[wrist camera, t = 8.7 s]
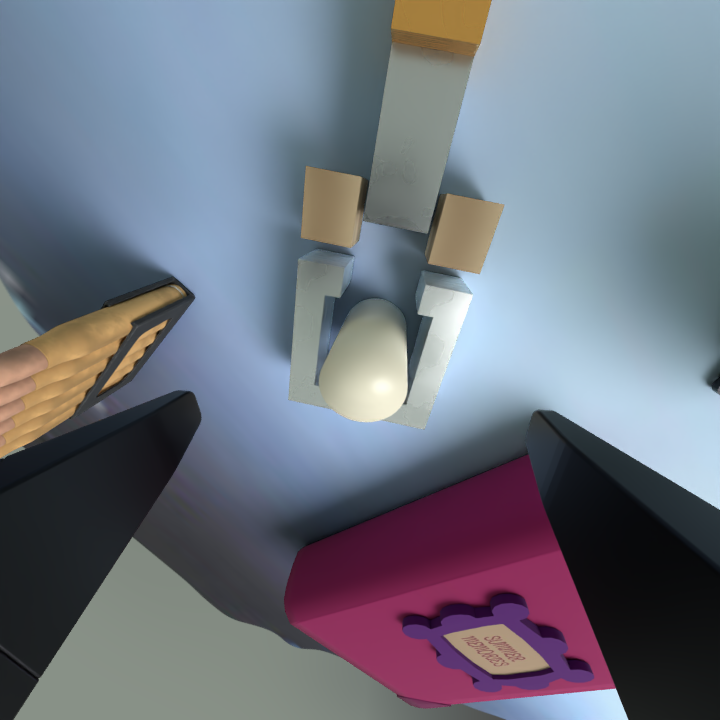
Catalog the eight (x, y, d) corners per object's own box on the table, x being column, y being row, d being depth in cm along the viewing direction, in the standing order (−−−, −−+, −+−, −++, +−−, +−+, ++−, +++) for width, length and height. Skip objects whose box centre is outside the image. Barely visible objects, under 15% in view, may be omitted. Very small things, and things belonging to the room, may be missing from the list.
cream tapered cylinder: (398, 361, 21) (396, 429, 15) (341, 349, 21) (314, 412, 15) (413, 305, 19) (417, 357, 13) (350, 292, 19) (323, 337, 13)
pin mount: (487, 203, 16) (504, 204, 13) (467, 262, 17) (479, 274, 15) (321, 171, 16) (305, 165, 13) (316, 231, 17) (300, 237, 15)
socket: (461, 278, 18) (472, 294, 15) (421, 397, 22) (424, 429, 19) (316, 248, 18) (298, 259, 15) (304, 371, 22) (288, 399, 19)
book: (300, 537, 33) (273, 625, 26) (567, 421, 22) (640, 520, 15) (415, 628, 39) (417, 718, 32) (669, 572, 28) (753, 690, 21)
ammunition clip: (173, 275, 20) (-86, 361, 9) (196, 296, 20) (-26, 400, 10) (110, 366, 24) (-117, 495, 14) (130, 381, 25) (-73, 518, 14)
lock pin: (489, -33, 12) (526, -130, 8) (423, 228, 16) (429, 235, 13) (414, -46, 12) (418, -147, 8) (369, 217, 17) (360, 222, 13)
